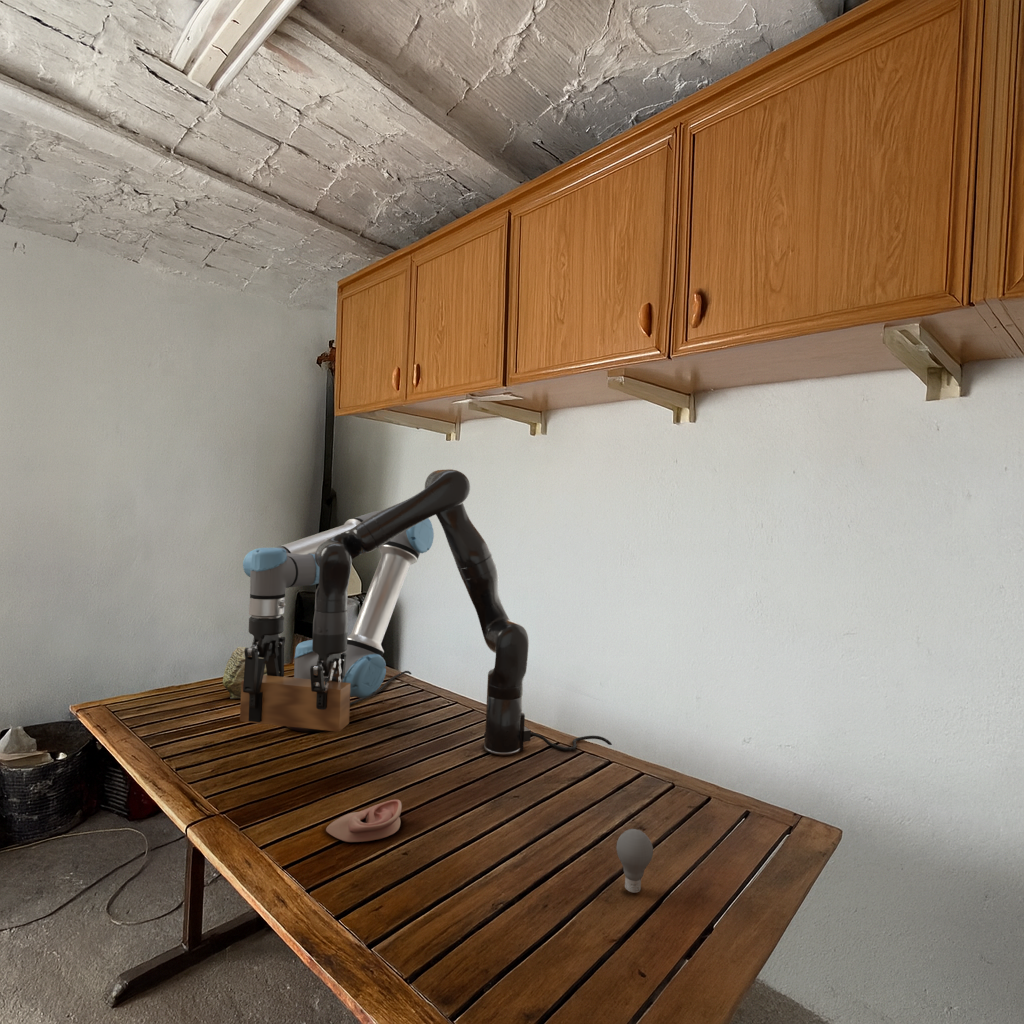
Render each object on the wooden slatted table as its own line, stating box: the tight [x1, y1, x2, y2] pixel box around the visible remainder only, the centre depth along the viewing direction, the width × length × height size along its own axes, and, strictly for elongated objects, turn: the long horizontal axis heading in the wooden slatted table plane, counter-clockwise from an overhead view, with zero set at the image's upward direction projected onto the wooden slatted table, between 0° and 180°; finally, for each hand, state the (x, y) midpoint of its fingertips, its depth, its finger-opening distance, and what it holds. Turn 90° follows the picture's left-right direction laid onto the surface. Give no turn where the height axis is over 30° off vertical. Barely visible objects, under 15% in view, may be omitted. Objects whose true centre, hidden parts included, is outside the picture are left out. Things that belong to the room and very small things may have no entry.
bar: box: [239, 675, 351, 733], centre depth 144 cm, size 24×6×9 cm, turn 81°
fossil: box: [222, 646, 280, 699], centre depth 198 cm, size 9×18×15 cm, turn 132°
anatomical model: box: [325, 799, 403, 843], centre depth 122 cm, size 13×4×12 cm
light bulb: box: [615, 828, 654, 894], centre depth 106 cm, size 6×6×10 cm
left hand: (263, 715), depth 145 cm, fingers open, 6 cm apart
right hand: (327, 704), depth 143 cm, fingers closed on bar, 5 cm apart
